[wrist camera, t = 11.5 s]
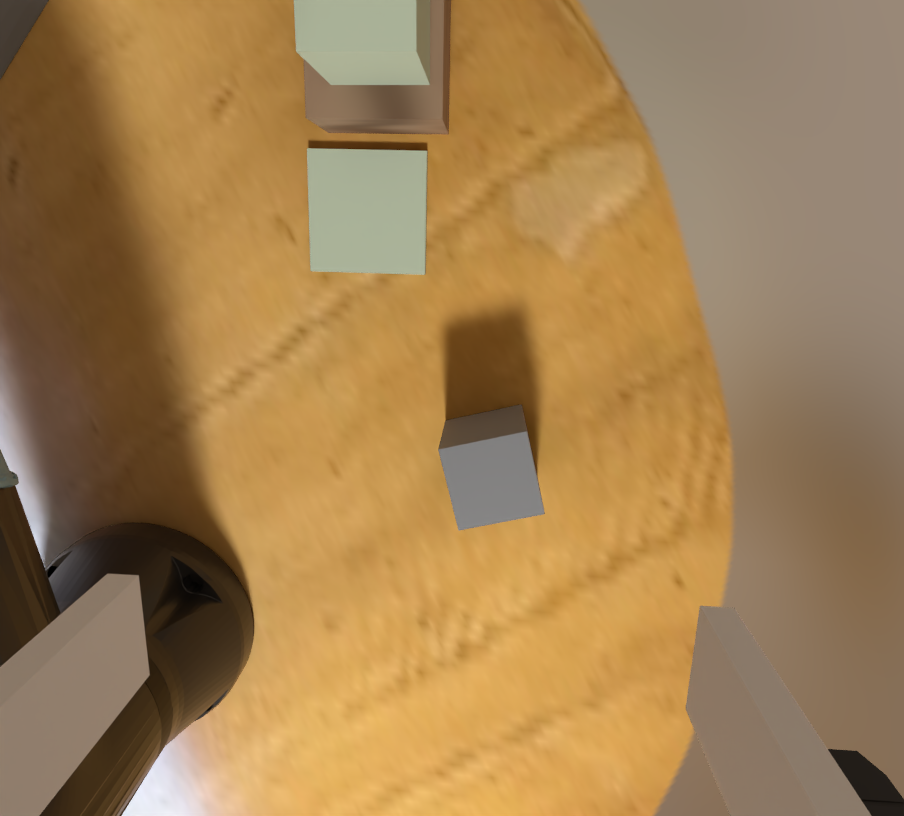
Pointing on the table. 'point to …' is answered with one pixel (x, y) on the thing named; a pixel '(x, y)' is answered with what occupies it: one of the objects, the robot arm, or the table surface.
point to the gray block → (490, 468)
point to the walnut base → (388, 94)
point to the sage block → (365, 40)
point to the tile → (367, 210)
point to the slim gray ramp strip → (16, 26)
